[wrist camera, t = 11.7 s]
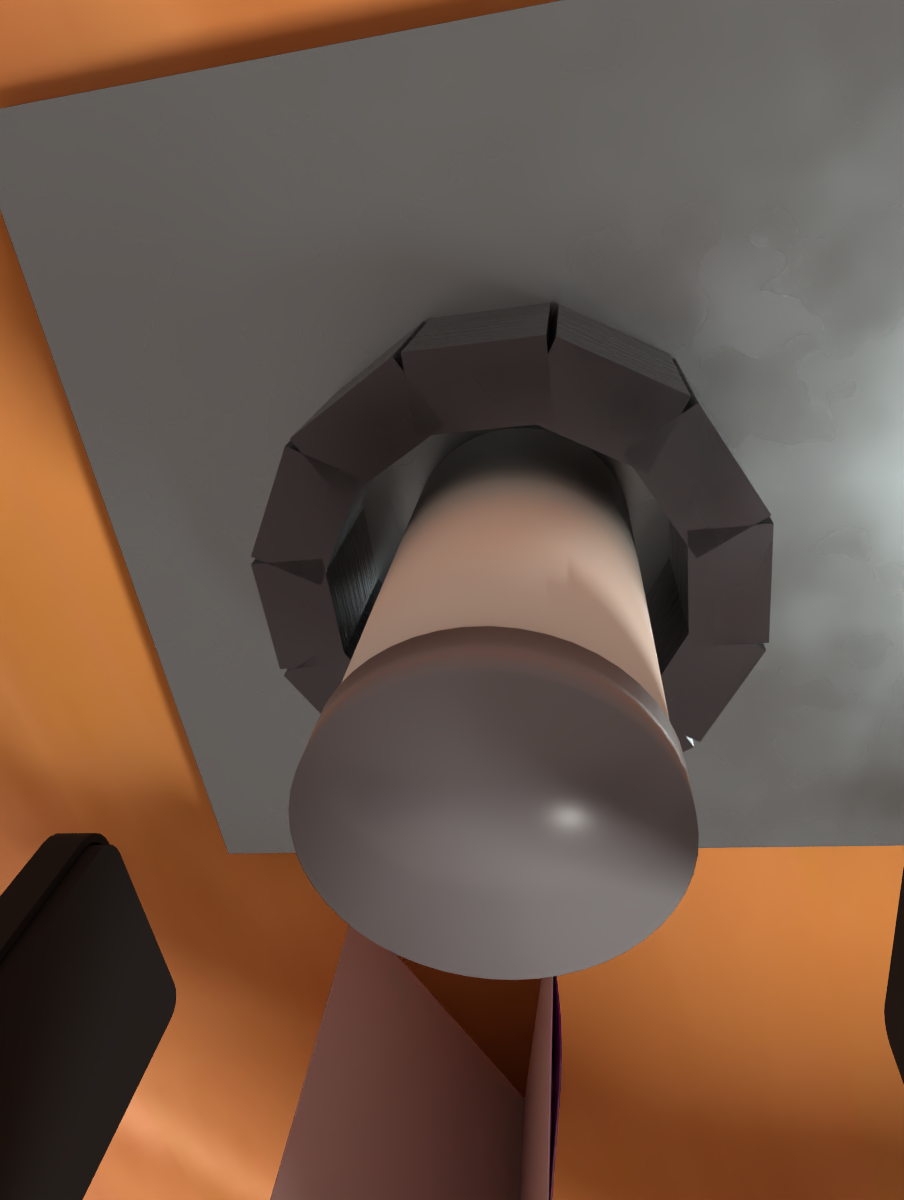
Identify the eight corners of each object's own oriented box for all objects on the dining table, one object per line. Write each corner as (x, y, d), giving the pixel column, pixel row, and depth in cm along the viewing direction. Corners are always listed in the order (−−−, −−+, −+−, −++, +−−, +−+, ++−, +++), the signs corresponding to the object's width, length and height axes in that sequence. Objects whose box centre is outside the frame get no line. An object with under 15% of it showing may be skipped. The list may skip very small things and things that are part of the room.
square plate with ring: (1040, -81, 14) (1235, -179, 10) (909, 813, 23) (983, 955, 19) (2, 117, 18) (-171, 105, 13) (242, 826, 27) (182, 948, 23)
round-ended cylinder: (626, 408, 18) (691, 652, 9) (641, 619, 20) (704, 977, 11) (391, 438, 19) (240, 686, 10) (431, 637, 21) (338, 981, 12)
